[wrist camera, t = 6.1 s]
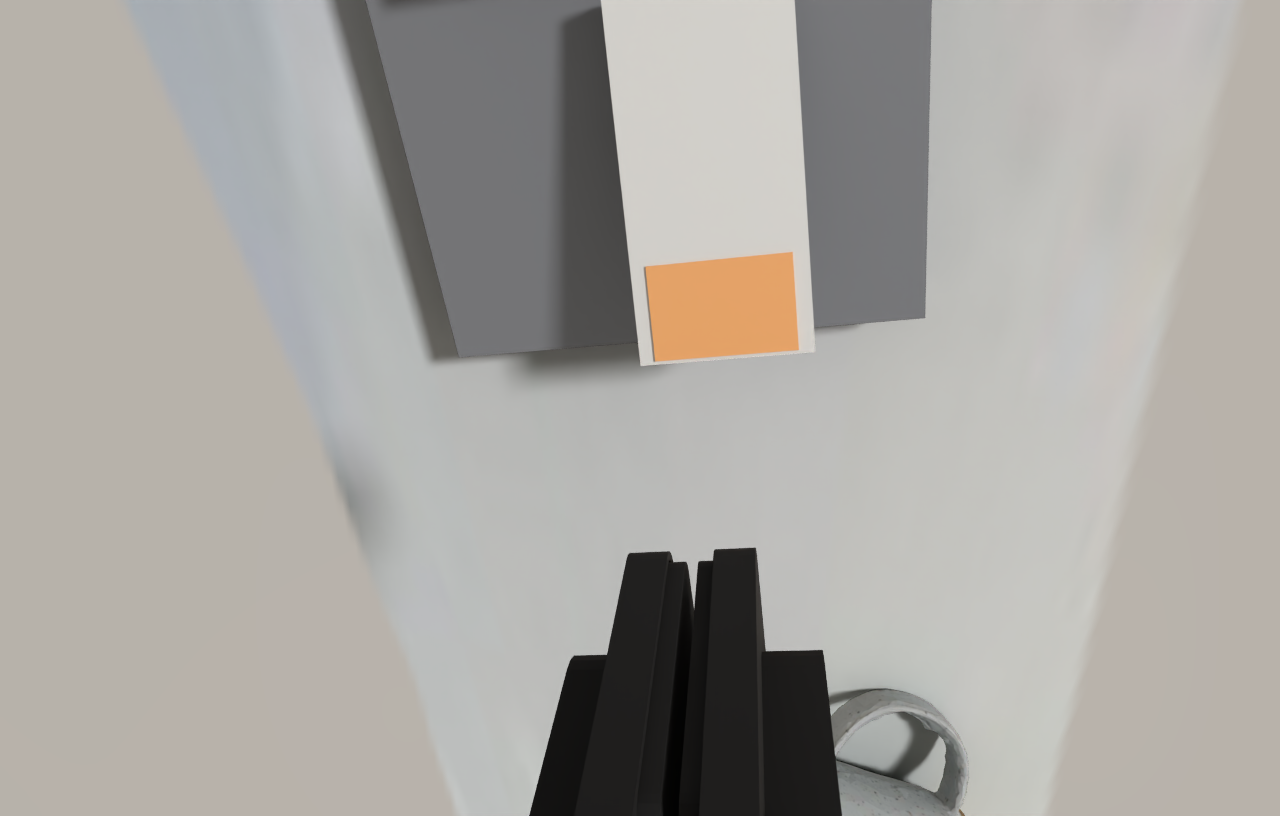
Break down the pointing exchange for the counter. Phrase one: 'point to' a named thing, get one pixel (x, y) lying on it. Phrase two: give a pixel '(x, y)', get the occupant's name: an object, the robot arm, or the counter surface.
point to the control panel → (589, 170)
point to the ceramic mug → (884, 806)
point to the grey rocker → (712, 176)
